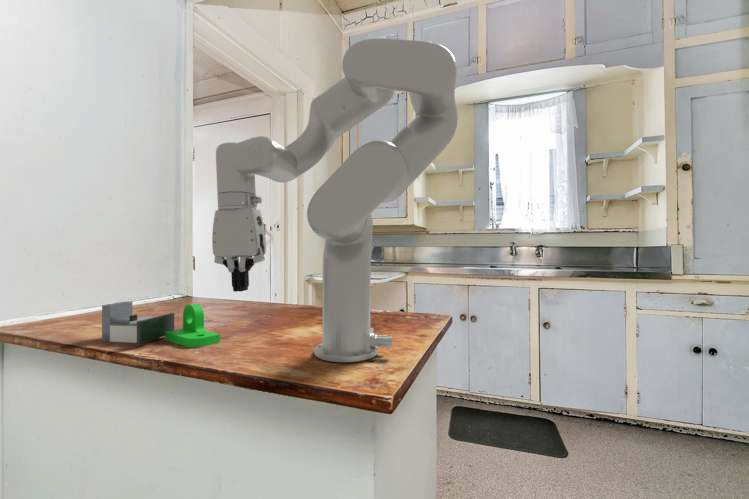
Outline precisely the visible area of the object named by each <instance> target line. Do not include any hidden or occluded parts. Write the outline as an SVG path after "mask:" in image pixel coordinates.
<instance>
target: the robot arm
mask: <svg viewBox="0 0 749 499" xmlns="http://www.w3.org/2000/svg"><path fill="white" fill-rule="evenodd" d="M341 64H342V66H341V68H342V72H343V75H344V77H343V78H342V79H340V80H339V81H338V82H335V84H334V85H332V86H330V87H329V88H328V89H326V90H325V91H324V92H322V93H321V94H319V95H318V96H316V97H314V98H313V100H311V102H310V108H309V116H308V122H307V125H306V127H305V128H304V131H303V132H302V134H300V136H298V138H296V139H295V140H294V141H292V142H290V143H289V144H288V145H286V146H285V147H284V146H283V145H281V144H280V143H278V142H277V141H275V140H274V139H273V138H270V137H268V136H263V135H262V136H261V135H259V136H254V137H251V138H249V139H245V140H243V141H239V142H222V143H221V144H219V145H217V147H216V149H215V166H216V190H217V191H216V194H217V210H215V211H214V217H213V223H212V235H211V236H212V237H211V240H212V243H211V244H212V245H211V246H212V254H213V255H214V259H213V260H214V263H215V264H218V265H224V267H225V268H227V270H228V272H229V273H231V287H232V290H233V291H232V292H234V293H235V292H244V291H248V289H249V285H250V276H249V274H250V273H249V272H250V271H251V270H252V268H253V267H254V266H255V265H256V264H257V263H258V264H259V263H261V262H264V261H265V260H266V258H265V255H266V254H267V240H266V231H265V226H264V220H263V219H264V218H263V216H262V211H261V209H258V208H257V207H258V205H259V204H262V200H263V199H262V197H261V196H257V194H256V191H257V190H256V175H257V176H261V177H262V178H263V177H264V178H267V179H269V180H272V181H273V182H276V183H282V184H284V183H288V182H292V181H293V180H295V179H297V178H299V177H300V176H301V175H303V174H305V173H306V172H308V171H309V170H311V169H312V168H313V167H315V166H316V165H317V164H318V163H319V162H320V161H321V160H322V159H323V158H324V157H325V156H326V154H327V153H328V152H329V150H331V148H332V147H333V145H334V143H335V141H336V140H337V139H338V138H340V137H341V136H343V135H344V134H345V133H347V132H348V131H350V130H351V129H353V128H354V127H355V126H356V125H358V124H360V123H361V122H363V121H365V120H366V119H367V118H369V117H370V116H372V115H373V114H375V113H376V112H378V111H379V110H380V109H381V108H384V106H386V105H387V104H389V102H390V101H391V100H392V98H393V96H394V94H395V91H396V92H405V93H408V94H409V98H410V103H411V106H412V109H413V112H414V114H415V116H414V119H413V120H412V121H411V122H409V123H408V124H407V125H405V126H404V127H403V128H402V129H400V131H398V133H397V134H396V136H394V137H393V138H392V140H390V142H389V141H387V140H380V139H379V140H372V141H369V142H366V143H364V144H363V145H361V146H359V147H358V148H357V149H356V150H354V151H353V152H352V153H351V154H350V155H349V156H348V157H347V158H346V159H345V160H344V161H343V163H342V164H340V166H339V167H338V168H337V169H336V170H335V171H334V172H333V173H332V174H331V175H330V176H329V177H328V178H327V180H325V182H323V184H321V186H320V187H319V188H318V189H317V190H316V191H315V193H314V194H313V195H312V197H311V198H310V201H309V203H308V206H307V212H306V218H307V222H308V225H309V228H310V229H311V230H312V232H314V234H316V235H317V236H318V237H320V238H321V239H324V240H325V242H324V248H323V253H322V254H323V256H322V318H321V319H322V320H321V321H322V328H321V329H322V334H321V335H322V336H321V337H322V342H321V343H318V344H317V345H316V346H315V347H314V353H313V354H314V356H315V357H316V358H317V359H320V360H322V361H327V362H332V363H356V362H357V363H358V362H362V361H367V360H370V359H372V358H375V357H376V356H377V355H378V354H379V353H378V352H379V347H383V348H393V342H394V340H393V336H388V334H377V333H375V332H374V331H375V330H374V327H371V275H372V274H371V273H372V272H371V271H372V269H371V268H372V242H373V230H374V228H373V227H374V224H373V219H374V218H373V215H372V212H374V211H375V210H376V209H377V208H378V207H379V206H380V205H381V204H382V203H385V204H386V203H391V202H393V201H395V200H398V198H400V197H401V196H402V195H403V194H404V193H405V192H406V190H407V189H408V188H409V187H410V186H411V185H412V184H413V183H414V182H415V181H416V180H417V179H418V178H419V177H420V176H421V174H422V173H423V172H425V171H426V169H427V168H428V167H429V166H430V165H431V164H432V163H433V161H435V159H437V157H439V156H440V154H441V153H442V152H443V151H444V150H445V149H446V148H447V146H449V144H450V143H451V141H452V140H453V138H454V136H455V135H456V131H457V126H458V119H459V117H458V110H457V104H456V100H455V99H456V98H455V94H456V93H455V92H456V81H457V74H458V73H457V72H458V70H457V63H456V60H455V57H454V55H453V53H452V52H451V50H449V49H448V48H447V47H445V46H443V45H442V44H439V43H435V42H432V41H423V40H412V39H411V40H410V39H400V38H396V39H395V38H380V37H379V38H367V39H362V40H359V41H356V42H355V43H353V44H352V45H351V46H349V47H348V48H347V50H346V51H345V53H344V55H343V56H342V63H341Z"/></svg>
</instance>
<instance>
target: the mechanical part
mask: <svg viewBox="0 0 749 499" xmlns="http://www.w3.org/2000/svg"><path fill="white" fill-rule="evenodd" d="M164 340H165V341H166V342H170V343H172V342H173V344H177V345H179V344H180V346H182V345H183V347H185V346H186V347H187V348H200V347H206V346H211V345H215V344H219V342H220V343H221V334H220V333H216V332H212V331H208V330H206V329H205V313H204V309H203V307H202V305H201V304H199V303H191V304H187V305H185V307H184V308H183V311H182V328H181V329H176V330H175V329H174V331H169V332H165V336H164Z"/></svg>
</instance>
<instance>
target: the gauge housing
mask: <svg viewBox="0 0 749 499" xmlns="http://www.w3.org/2000/svg"><path fill="white" fill-rule="evenodd" d="M131 315H133V301H121V302H115V303H109V304H103V305H102V306H101V342H110V343H112V342H113V343H130V344H131V343H135V344H137V325H130V316H131Z"/></svg>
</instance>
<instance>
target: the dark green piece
mask: <svg viewBox="0 0 749 499" xmlns="http://www.w3.org/2000/svg"><path fill="white" fill-rule="evenodd" d="M130 325H137V343H136V344H137V345H142V344H145V343H148V342H151V341H154V340H157V339H160V338H163V337H165V332H169V331H175V312H170V313H165V314H161V315H157V316H149V315H145V316H140V317H138V314H132V315H131V316H130Z"/></svg>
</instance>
